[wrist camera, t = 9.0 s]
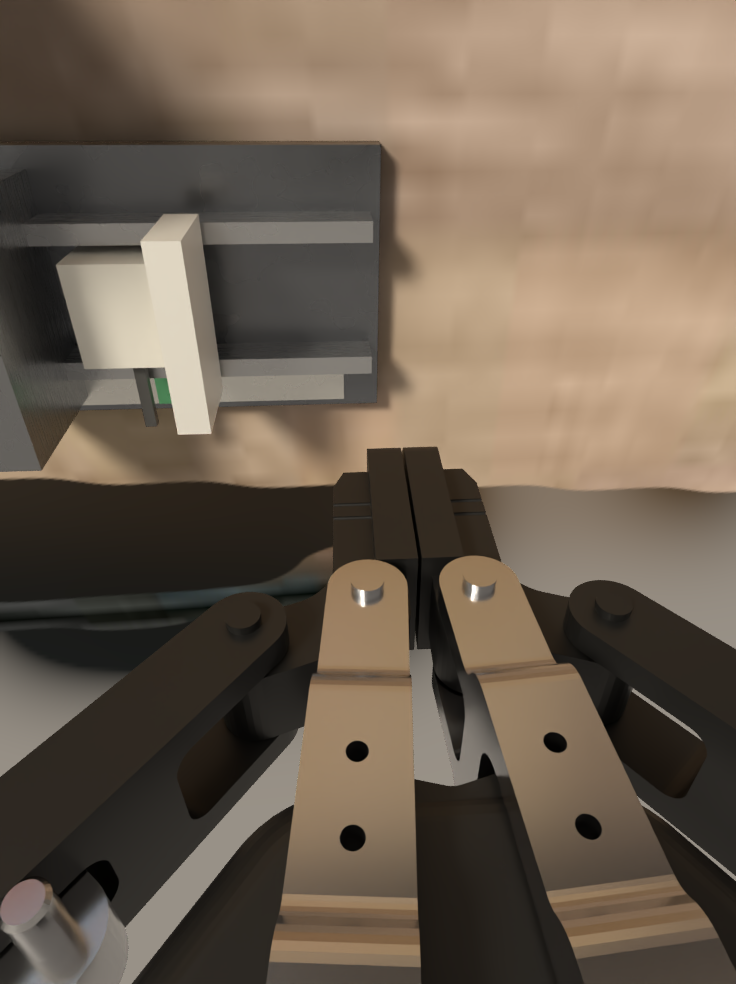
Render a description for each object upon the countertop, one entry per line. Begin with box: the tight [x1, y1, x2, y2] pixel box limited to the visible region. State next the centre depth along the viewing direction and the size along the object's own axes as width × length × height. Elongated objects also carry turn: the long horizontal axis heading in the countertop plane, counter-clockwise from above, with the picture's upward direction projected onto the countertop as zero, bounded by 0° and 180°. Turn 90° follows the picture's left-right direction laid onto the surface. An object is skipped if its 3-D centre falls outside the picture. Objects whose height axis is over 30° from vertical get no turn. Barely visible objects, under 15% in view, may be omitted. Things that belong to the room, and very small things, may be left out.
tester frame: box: [0, 141, 381, 472], centre depth 31 cm, size 21×14×9 cm, turn 90°
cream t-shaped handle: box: [56, 214, 223, 435], centre depth 31 cm, size 7×11×7 cm, turn 0°
